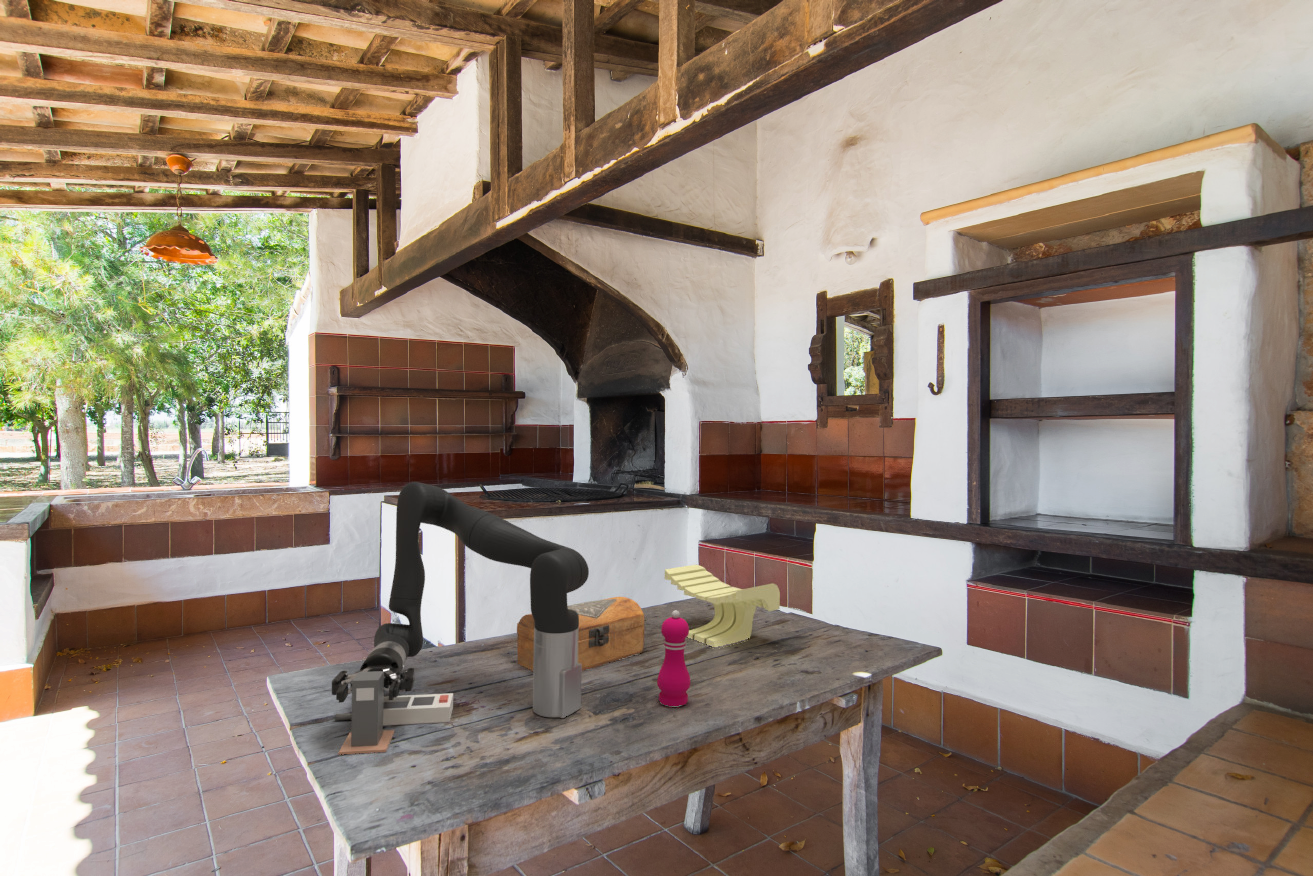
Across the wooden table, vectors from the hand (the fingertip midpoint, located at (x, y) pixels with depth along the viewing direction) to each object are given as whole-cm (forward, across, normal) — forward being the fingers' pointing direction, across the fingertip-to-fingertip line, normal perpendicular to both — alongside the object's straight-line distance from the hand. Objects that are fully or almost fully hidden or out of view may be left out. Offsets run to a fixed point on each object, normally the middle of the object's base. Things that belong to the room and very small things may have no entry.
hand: (366, 696), depth 124 cm
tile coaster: (-2, 0, +10) cm, 10 cm away
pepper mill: (-13, +60, +10) cm, 62 cm away
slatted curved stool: (-56, +83, +10) cm, 100 cm away
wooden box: (-43, +43, +10) cm, 62 cm away
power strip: (-13, +3, +9) cm, 16 cm away
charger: (-2, 0, +9) cm, 9 cm away
